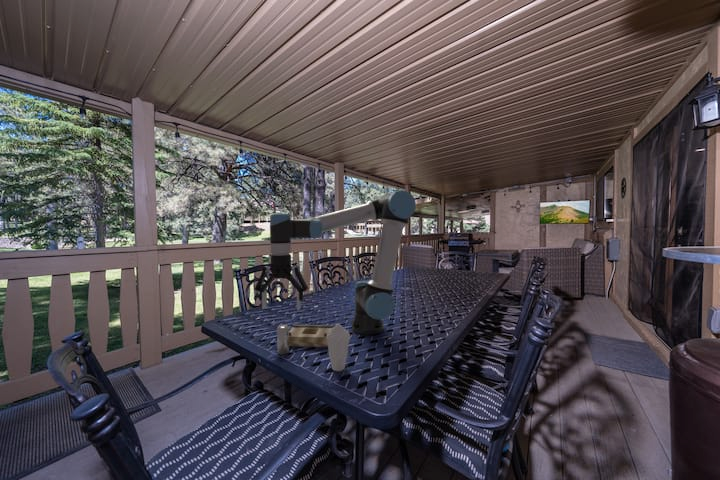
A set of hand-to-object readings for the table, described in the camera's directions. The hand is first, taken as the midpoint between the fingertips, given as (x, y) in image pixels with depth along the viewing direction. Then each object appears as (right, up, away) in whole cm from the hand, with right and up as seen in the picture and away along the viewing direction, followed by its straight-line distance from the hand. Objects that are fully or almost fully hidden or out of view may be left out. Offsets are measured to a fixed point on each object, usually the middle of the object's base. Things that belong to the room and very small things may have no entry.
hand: (281, 308), depth 105 cm
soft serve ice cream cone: (+23, -18, -11) cm, 31 cm away
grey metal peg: (0, -17, +1) cm, 17 cm away
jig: (+9, -17, +11) cm, 22 cm away
